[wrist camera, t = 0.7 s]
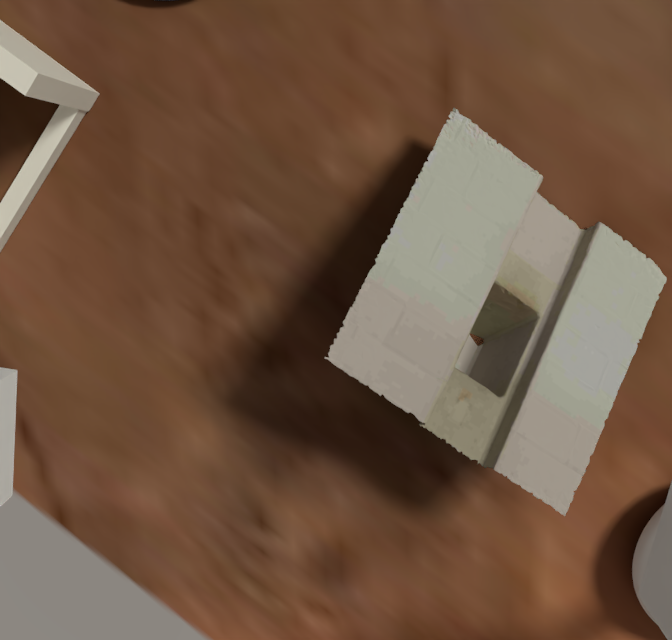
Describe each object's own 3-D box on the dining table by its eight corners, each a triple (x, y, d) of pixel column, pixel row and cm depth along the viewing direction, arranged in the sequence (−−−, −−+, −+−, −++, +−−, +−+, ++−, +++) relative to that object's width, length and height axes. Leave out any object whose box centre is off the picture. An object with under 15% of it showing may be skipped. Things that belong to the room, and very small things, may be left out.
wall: (367, 180, 40) (266, 379, 33) (451, 98, 33) (345, 331, 26) (557, 319, 44) (504, 524, 37) (669, 273, 37) (631, 517, 30)
